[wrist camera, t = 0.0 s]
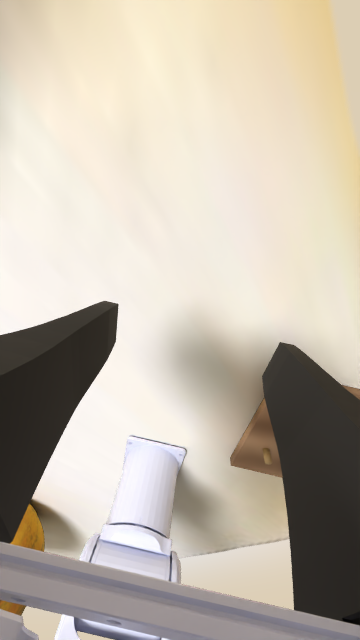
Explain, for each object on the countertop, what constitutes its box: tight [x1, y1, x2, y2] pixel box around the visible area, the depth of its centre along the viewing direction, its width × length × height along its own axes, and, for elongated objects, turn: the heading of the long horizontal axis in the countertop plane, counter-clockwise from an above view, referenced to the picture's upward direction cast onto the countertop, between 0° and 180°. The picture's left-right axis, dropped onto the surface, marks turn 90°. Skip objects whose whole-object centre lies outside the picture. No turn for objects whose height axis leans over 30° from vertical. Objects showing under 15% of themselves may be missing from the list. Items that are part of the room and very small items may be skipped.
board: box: [230, 385, 360, 478], centre depth 26 cm, size 16×12×2 cm
